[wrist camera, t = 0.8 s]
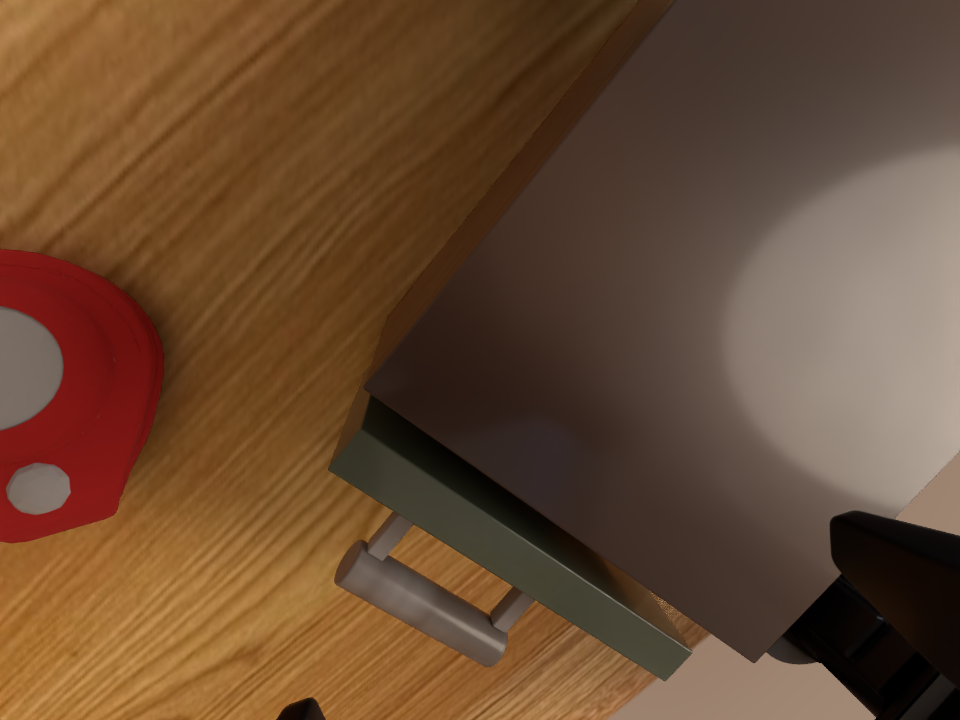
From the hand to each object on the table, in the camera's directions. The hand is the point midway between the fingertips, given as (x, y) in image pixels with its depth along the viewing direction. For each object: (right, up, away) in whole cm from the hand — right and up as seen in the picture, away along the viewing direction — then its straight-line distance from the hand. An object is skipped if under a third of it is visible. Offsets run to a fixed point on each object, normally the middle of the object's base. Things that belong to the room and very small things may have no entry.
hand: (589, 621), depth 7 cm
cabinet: (+5, +9, +11) cm, 15 cm away
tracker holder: (-19, +4, +9) cm, 21 cm away
